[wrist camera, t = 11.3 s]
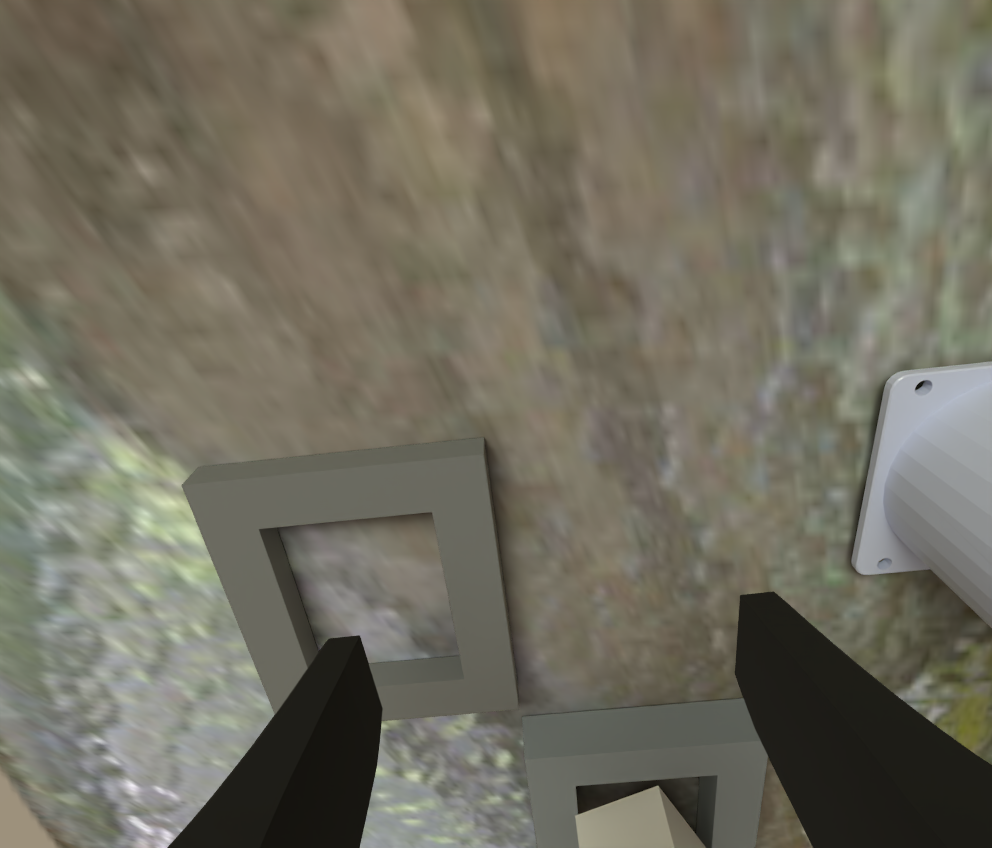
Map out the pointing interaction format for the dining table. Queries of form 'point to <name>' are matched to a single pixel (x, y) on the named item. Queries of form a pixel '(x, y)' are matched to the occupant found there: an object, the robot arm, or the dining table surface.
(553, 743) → the port
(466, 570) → the square frame plate
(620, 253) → the dining table surface
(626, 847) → the plug
